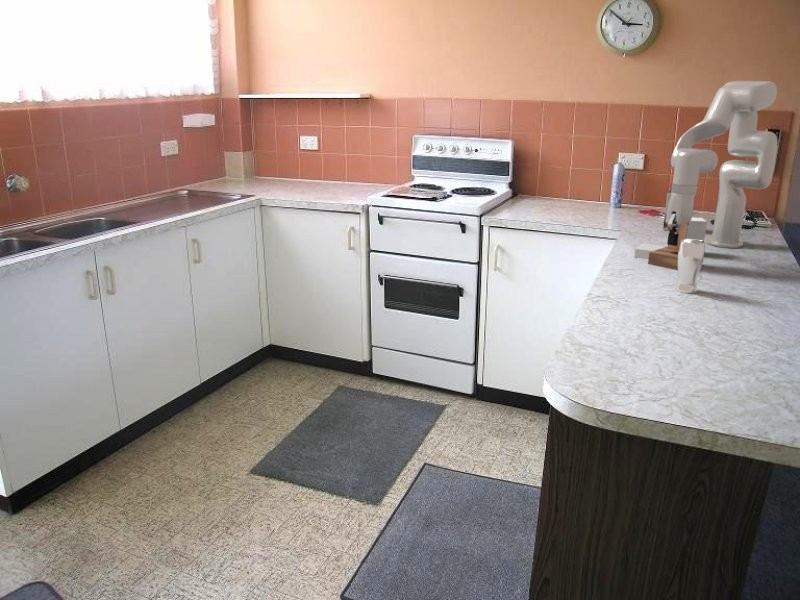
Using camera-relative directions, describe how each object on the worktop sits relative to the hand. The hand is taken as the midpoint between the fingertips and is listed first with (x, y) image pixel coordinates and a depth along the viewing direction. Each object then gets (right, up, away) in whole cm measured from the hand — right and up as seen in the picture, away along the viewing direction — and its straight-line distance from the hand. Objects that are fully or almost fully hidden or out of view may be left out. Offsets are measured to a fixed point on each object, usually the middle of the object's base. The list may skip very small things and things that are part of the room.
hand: (676, 243), depth 223 cm
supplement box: (+12, -2, +17) cm, 21 cm away
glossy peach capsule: (0, -2, +1) cm, 2 cm away
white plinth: (-3, -3, +12) cm, 13 cm away
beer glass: (-8, -16, -26) cm, 31 cm away
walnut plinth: (0, -7, +2) cm, 7 cm away
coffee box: (+22, +10, +54) cm, 59 cm away
